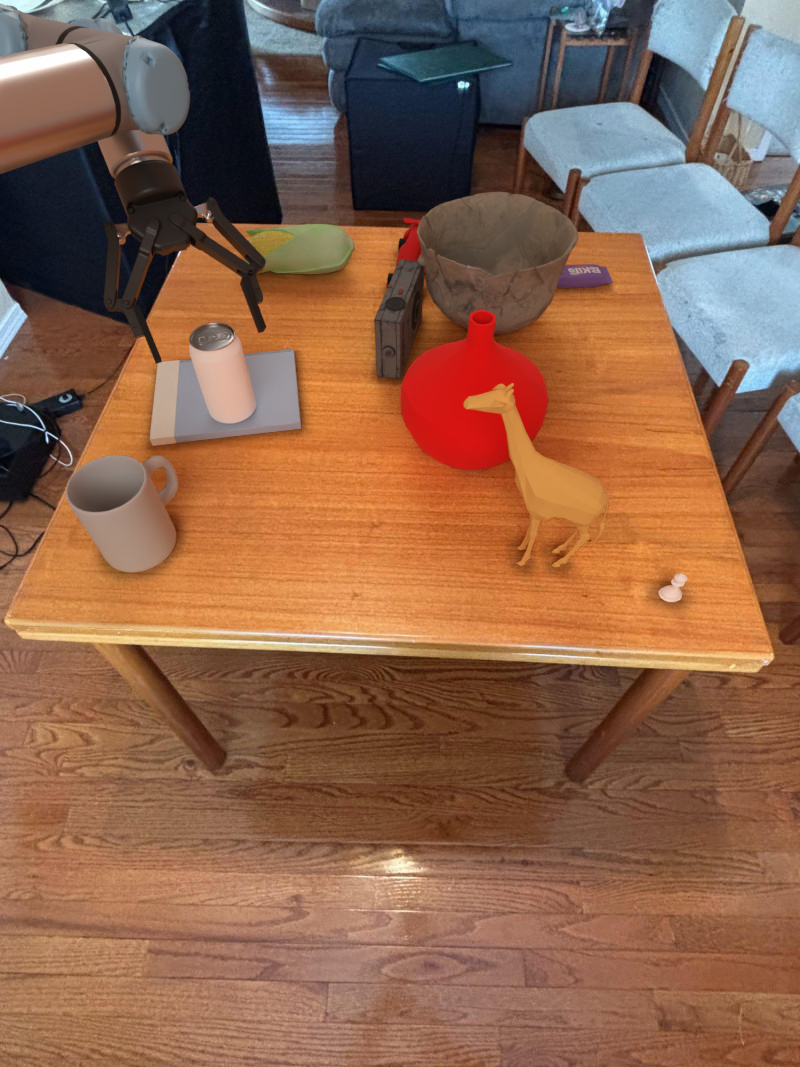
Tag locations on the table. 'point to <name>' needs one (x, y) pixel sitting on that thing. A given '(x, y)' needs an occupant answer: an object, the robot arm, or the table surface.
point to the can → (222, 372)
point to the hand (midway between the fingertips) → (211, 345)
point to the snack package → (584, 276)
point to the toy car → (408, 245)
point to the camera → (398, 319)
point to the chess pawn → (673, 589)
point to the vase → (455, 376)
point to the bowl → (494, 257)
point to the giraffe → (545, 479)
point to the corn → (303, 248)
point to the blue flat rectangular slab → (186, 411)
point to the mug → (125, 509)
